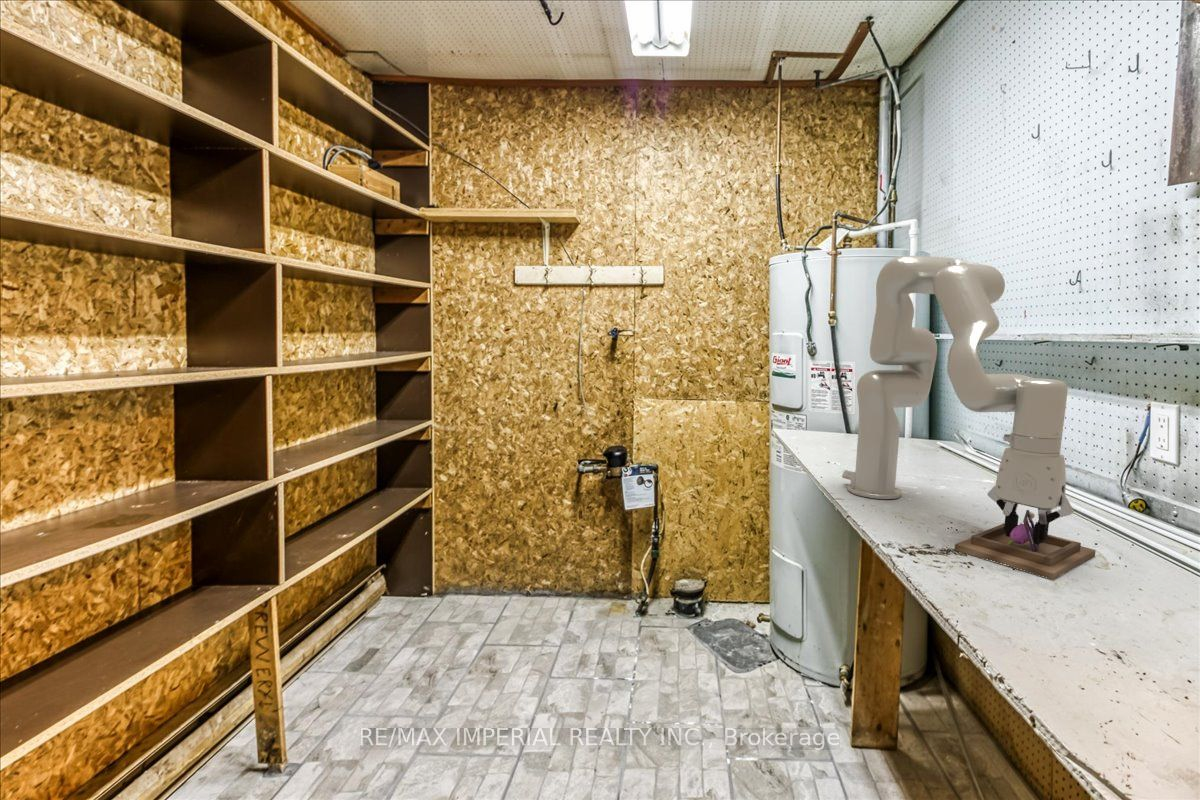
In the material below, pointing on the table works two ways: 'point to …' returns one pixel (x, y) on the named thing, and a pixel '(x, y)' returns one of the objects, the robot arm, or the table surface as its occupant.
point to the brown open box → (1027, 552)
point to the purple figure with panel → (1025, 532)
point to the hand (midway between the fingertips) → (1024, 538)
